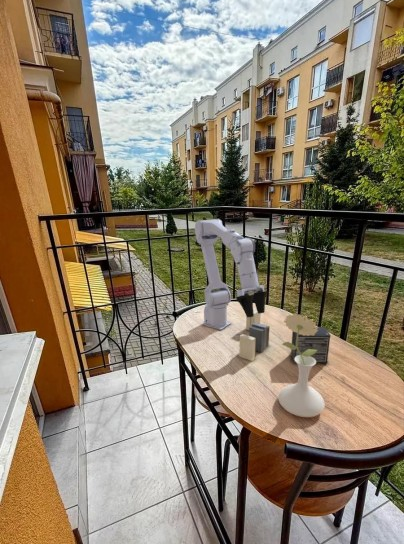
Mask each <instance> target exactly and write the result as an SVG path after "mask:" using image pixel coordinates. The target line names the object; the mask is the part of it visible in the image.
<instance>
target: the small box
mask: <svg viewBox="0 0 404 544" xmlns="http://www.w3.org/2000/svg"><path fill="white" fill-rule="evenodd" d="M316 327H317V330H318V331H317V332H316V333H315V335H309V336H307V335H305V336H304V335H301V334H299V335H298V340H297V347H298V349H299V351H300V353H301V354H302V353H304V352H305V351H306V350H308V349H313V350H317V352H316V353H315V354H313V355H311V357H313V358H314V359H315V360H316V364H317V365H327V364H328V362H329V361H328V359H329V350H330V344H331V343H330V341H331V334H330V332H329V331H328V330H327V328H326V326H316ZM296 338H297V332H293V331H292V334H291V344H293V345H295V346H296ZM298 355H300V354H299V352H298V350H297V348H296V349H295V350H292V349H290V356H291V359H292V361H293V364H297V363H296V362H295V360H294V359H295V357H296V356H298ZM316 364H315V365H316Z"/></svg>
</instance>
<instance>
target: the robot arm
mask: <svg viewBox="0 0 404 544" xmlns="http://www.w3.org/2000/svg"><path fill="white" fill-rule="evenodd" d="M194 234H195V239H196V242H197V244H199V245H200V249H201V251H202V257H203V262H204V265H205V270H206V274H207V275H206V276H207V279H208V285H207V286H206V287H205V289H204V302H205V305H204V308H203V321H204V322H203V324H202V326H206V327H209V328H213V329H216V330H219V331H222V330H224V329H225V328H226V327H228V326H229V325H231V323H232V322H231V321H228V306H229V303H231V300H232V294H231V291H230V289H229V287H228V284H226V283H225V282H223V281H222V279H221V275H220V271H219V270H220V269H219V264H218V260H217V256H216V251H215V247H214V244H215V243H216V242H217V241H218V240H219V238H220V239H221V242H222V244H223V245H224V246H226V248H228V249H229V250H230V254H231V256H232V257H233V260H234V263H235V264H236V266H237V270H238V271H237V272H238V277H239V281H240V286H241V289H237V290H236V295H237V296H236V297H235V299H236V301H237V302H238V304H239V305H240V306H241V308H242V309H243V312H244V314H245V316H247V317H253V316H254V312H253V308H254V304H255V309H257V312H258V314H259V313H261V314H264V313H265V312H266V311H265V310H266V309H265V308H266V299H267V295H268V291H267V290H265V287H264V285H260V283H259V278H258V273H257V268H256V264H255V263H256V262H255V259H254V253H255V252H256V244H255V242H254V240H253V238H251V237H246V238H245V237H244V236H242V234H239V233H238V232H237V231H236V230H235V229H233V228H230V229H227V227H225V226H224V225H223V221H222V220H221V219H220V218H213V219H203V220H200V219H198V220H197V221H196V222H195V224H194Z"/></svg>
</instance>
